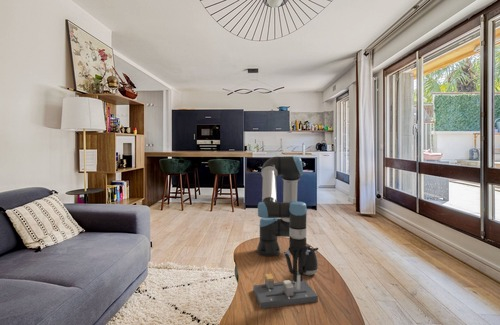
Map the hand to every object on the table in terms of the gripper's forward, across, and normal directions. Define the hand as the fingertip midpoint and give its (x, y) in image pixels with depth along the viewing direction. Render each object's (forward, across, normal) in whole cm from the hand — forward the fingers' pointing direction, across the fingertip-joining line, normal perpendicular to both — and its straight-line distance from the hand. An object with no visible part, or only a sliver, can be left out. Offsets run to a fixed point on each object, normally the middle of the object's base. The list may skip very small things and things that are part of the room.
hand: (297, 287), depth 120 cm
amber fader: (+2, -11, +8) cm, 14 cm away
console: (+5, -5, +3) cm, 8 cm away
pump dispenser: (+5, +15, +22) cm, 27 cm away
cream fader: (+2, -5, 0) cm, 5 cm away
